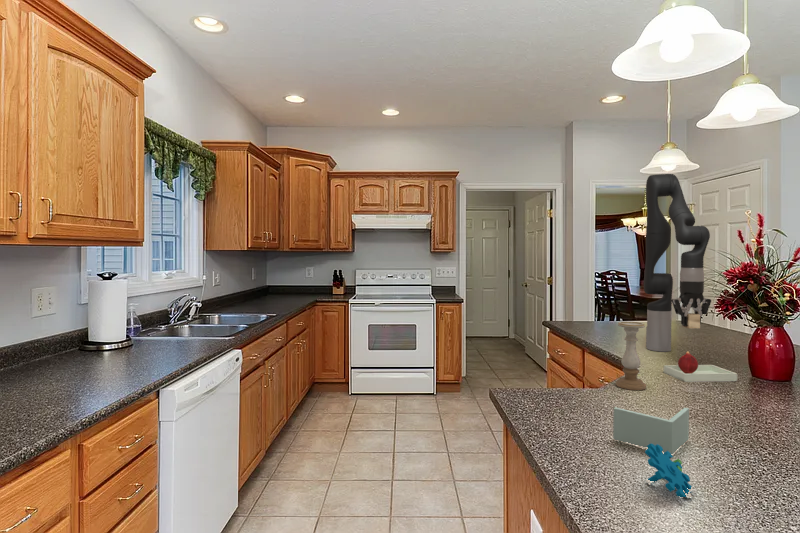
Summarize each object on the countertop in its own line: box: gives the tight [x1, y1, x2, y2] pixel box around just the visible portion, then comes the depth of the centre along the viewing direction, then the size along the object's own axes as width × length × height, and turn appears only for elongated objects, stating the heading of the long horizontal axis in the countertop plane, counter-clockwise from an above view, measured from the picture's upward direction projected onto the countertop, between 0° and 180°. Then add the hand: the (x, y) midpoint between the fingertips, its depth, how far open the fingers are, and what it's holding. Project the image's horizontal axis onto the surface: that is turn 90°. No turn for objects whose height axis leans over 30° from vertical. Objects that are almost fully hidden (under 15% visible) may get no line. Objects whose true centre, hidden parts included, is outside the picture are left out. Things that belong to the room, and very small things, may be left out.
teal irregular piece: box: [644, 444, 693, 497], centre depth 84 cm, size 11×6×10 cm
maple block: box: [681, 312, 701, 329], centre depth 169 cm, size 4×4×5 cm
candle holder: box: [615, 321, 647, 391], centre depth 145 cm, size 9×9×20 cm
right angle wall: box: [612, 406, 690, 454], centre depth 104 cm, size 12×12×8 cm
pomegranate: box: [677, 351, 699, 374], centre depth 156 cm, size 6×6×8 cm
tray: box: [663, 364, 738, 383], centre depth 156 cm, size 12×18×2 cm, turn 91°
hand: (690, 325), depth 169 cm, fingers closed on maple block, 4 cm apart
